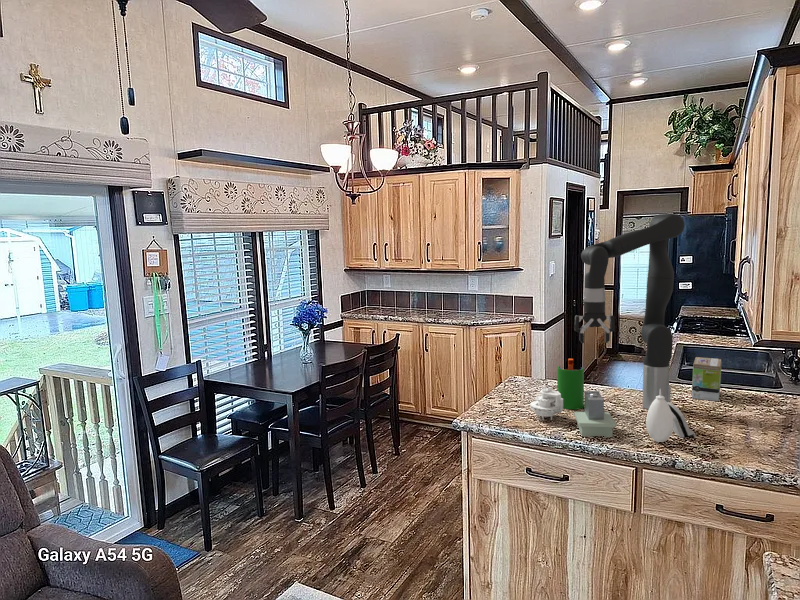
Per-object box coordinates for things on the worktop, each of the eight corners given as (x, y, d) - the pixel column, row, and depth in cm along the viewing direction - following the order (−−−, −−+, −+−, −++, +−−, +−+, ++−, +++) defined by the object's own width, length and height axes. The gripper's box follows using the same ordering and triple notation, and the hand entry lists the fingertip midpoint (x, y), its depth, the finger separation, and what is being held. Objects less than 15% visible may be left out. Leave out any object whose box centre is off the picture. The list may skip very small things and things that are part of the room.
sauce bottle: (655, 435, 182) (656, 383, 180) (677, 442, 175) (678, 389, 173) (641, 440, 178) (642, 388, 176) (663, 448, 171) (664, 393, 169)
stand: (608, 425, 192) (608, 412, 192) (616, 438, 181) (616, 423, 180) (573, 424, 194) (574, 411, 194) (579, 437, 183) (579, 423, 182)
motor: (581, 402, 220) (581, 355, 217) (586, 409, 211) (586, 360, 208) (555, 402, 221) (555, 355, 218) (560, 409, 212) (560, 360, 209)
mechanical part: (524, 416, 206) (524, 386, 204) (549, 411, 210) (549, 382, 209) (543, 425, 195) (543, 393, 194) (569, 419, 200) (569, 389, 199)
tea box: (719, 402, 215) (720, 365, 213) (691, 398, 220) (692, 363, 218) (720, 392, 227) (721, 358, 226) (693, 389, 233) (694, 356, 231)
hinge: (696, 437, 178) (686, 410, 178) (682, 442, 179) (672, 415, 178) (675, 420, 195) (666, 395, 194) (663, 425, 196) (654, 400, 195)
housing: (598, 411, 193) (599, 390, 192) (603, 419, 184) (603, 397, 183) (584, 411, 194) (584, 390, 193) (588, 419, 185) (588, 397, 184)
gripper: (612, 298, 202) (611, 340, 204) (573, 299, 204) (573, 340, 206) (616, 300, 195) (616, 344, 196) (576, 301, 197) (576, 344, 199)
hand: (594, 342), depth 201 cm, fingers open, 8 cm apart
